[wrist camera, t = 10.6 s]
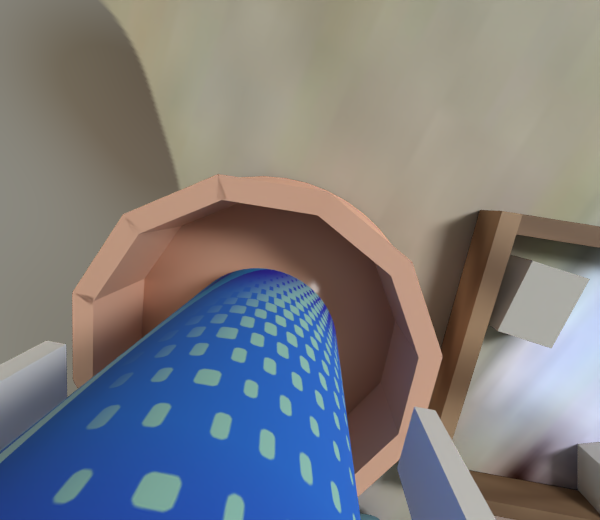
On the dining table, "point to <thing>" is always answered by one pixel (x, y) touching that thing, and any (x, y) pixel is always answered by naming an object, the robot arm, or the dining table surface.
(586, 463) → the stone
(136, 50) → the dining table surface
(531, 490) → the tray
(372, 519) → the teapot
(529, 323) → the stone
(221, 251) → the dish
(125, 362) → the beer can
